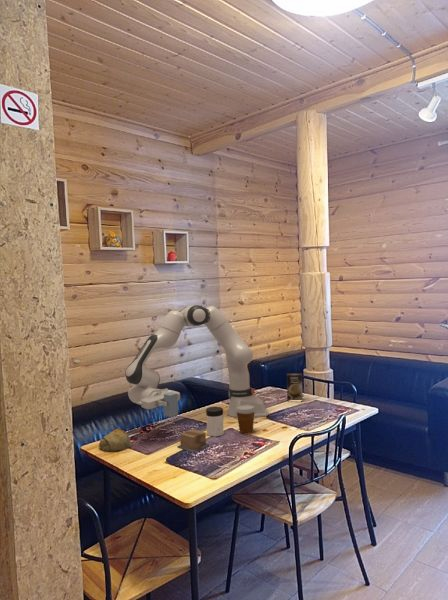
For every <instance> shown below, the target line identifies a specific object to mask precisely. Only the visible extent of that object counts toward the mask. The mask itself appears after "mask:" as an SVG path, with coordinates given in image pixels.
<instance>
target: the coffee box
mask: <svg viewBox="0 0 448 600" xmlns="http://www.w3.org/2000/svg"><path fill="white" fill-rule="evenodd" d="M286 391H287V392H286V393H287V394H286V396H287V400H303V401H304V399H303V396H304V395H303V373H302V372H301V373H296V372H295V373H293V372H291V373H289V372H287V373H286Z"/></svg>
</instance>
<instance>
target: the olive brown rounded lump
mask: <svg viewBox="0 0 448 600" xmlns="http://www.w3.org/2000/svg"><path fill="white" fill-rule="evenodd" d="M132 445H133V444H132V442H131V437H130V436H129V434H128V433H127V432H126V430H123V429H121V428H116V429H114V430H113V431H111V432H110V433H108V434H106V435H105V436H103V438H102V439H100V440H99V443H98V446H99V448H100V449H101V450H103V451H104V452H115V451H124V450H127V449H129V448H132Z"/></svg>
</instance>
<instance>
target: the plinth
mask: <svg viewBox="0 0 448 600" xmlns="http://www.w3.org/2000/svg"><path fill="white" fill-rule="evenodd" d="M179 438H180V439H179V441H180V442H179V443H180V444H179V445H177V446H176V447H177V449H181V450H183V451H187V452H191V453H193V454H194V453H196V452H198V451H200V450H203V449H205V448H207V447H209V446H210V444H209V443H207V431H206V432H205V431H202V430H198V429H195V428H192V429H189V430H187V431H184V432H181V433H179Z"/></svg>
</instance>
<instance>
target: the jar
mask: <svg viewBox="0 0 448 600" xmlns="http://www.w3.org/2000/svg"><path fill="white" fill-rule="evenodd" d="M205 416H206V437H207V436H208V437H216V438H217V437H219V436H224V435H225V434H224V409H223V408H222V407H220V406H210V407H207V408H206V409H205Z"/></svg>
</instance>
